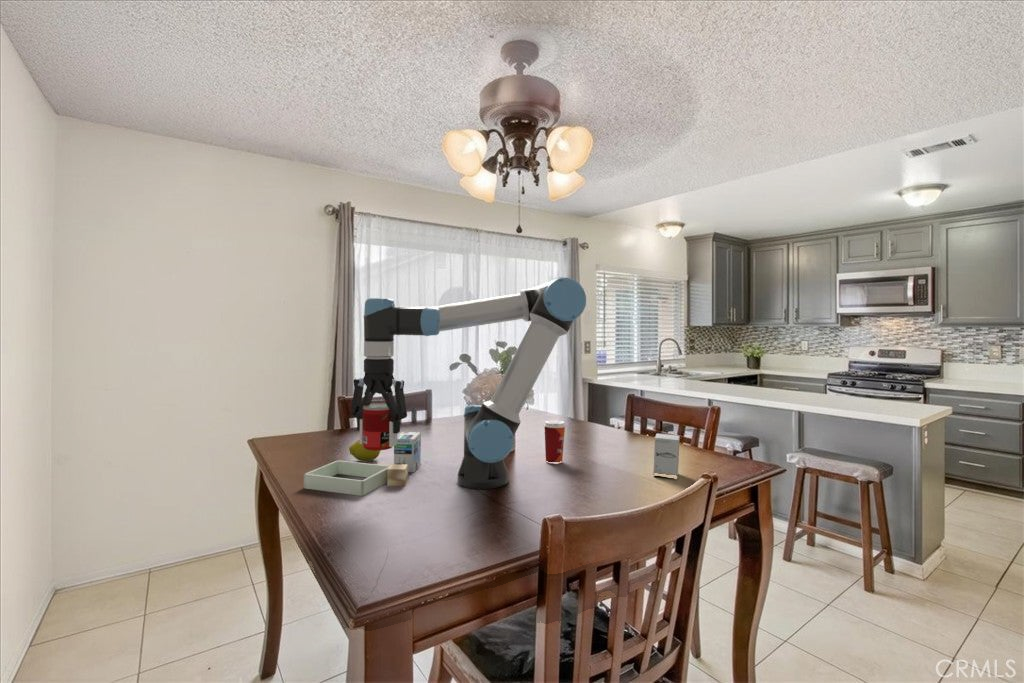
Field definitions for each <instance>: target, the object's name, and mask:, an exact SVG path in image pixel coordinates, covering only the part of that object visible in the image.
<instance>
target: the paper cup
mask: <svg viewBox="0 0 1024 683" xmlns="http://www.w3.org/2000/svg"><path fill="white" fill-rule="evenodd" d="M543 427H544V446H545V447H544V449H545V462H546V461H548V462H560V461H562V462H563V458H564V457H563V456H564V455H563V454H564V444H565V432H566V423H565V421H563V420H557V419H554V420H553V419H550V420H545V421H544V424H543Z"/></svg>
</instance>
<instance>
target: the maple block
mask: <svg viewBox="0 0 1024 683" xmlns="http://www.w3.org/2000/svg"><path fill="white" fill-rule="evenodd" d="M388 466H389V468H388V473H387V483H386V484H387V487H406V484H407V483H408V481H409V480H408V479H409V478H408V477H409V474H408V473H409V472H408V464H394V463H390V465H388Z"/></svg>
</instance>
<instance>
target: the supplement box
mask: <svg viewBox="0 0 1024 683" xmlns="http://www.w3.org/2000/svg"><path fill="white" fill-rule="evenodd" d="M680 440H681V435H675V434H668V433H667V434H666V433H656V434H655V437H654V451H653V452H654V453H653V474H654V473H658V474H666V475H676V476H677V475H678V476H679V465H680V464H679V463H680Z"/></svg>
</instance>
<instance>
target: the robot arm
mask: <svg viewBox="0 0 1024 683" xmlns="http://www.w3.org/2000/svg"><path fill="white" fill-rule="evenodd" d="M586 306H587V296H586V292H585V290H584V288H583V286H582V285H581V284H580V283H579V282H578V281H577V280H576V279H573V278H570V277H564V276H563V277H560V276H559V277H555V278H553V279H552V280H550V281H547V282H544V283H543V284H540V285H537V286H534V287H532V288H526V289H521V290H520V291H519V293H517V294H509V295H503V296H502V295H500V296H495V297H488V298H484V299H483V298H482V299H475V300H469V301H462V302H455V303H447V304H443V305H436V306H398V305H397V306H395V301H394V299H392V298H380V297H379V298H378V297H376V298H375V297H373V298H372V297H371V298H370V297H369V298H367V299H366V300H365V302H364V312H363V313H364V314H363V356H364V357H366V358H364V360H363V372H364V376H363V377H362V378H361V377H360V378H355V379H353V394H352V401H351V406H350V407H351V408H350V416H352V417H355V418H356V419H357V421H356V426H357V431H358V432H359V440H360V444H363V406H364V405H365V406H366V405H370V404H372V400H373V398H374V396H375V395H376V394H379V395H381V397H382V398H383V399H384V402H385V403H386V404H387V407H389V412H390V415H391V418H392V420H391V421H390V422H389V447H392V448H394V446H395V445H397V436H398V434H400V433H401V431H400V430H401V420H403V419H405V418H407V417H408V412H407V405H406V398H405V391H404V388H405V381H404V380H403V379H400V380H398V379H396V378H394V367H395V366H394V365H395V363H394V362H395V360H394V359H393V358H392V357H394V354H395V353H394V350H395V349H394V347H395V346H394V344H395V342H394V339H395V336H424V337H430V336H437V335H439V334H440V333H441V332H445V331H451V330H458V329H459V330H460V329H463V328H465V329H466V328H471V327H479V326H486V325H492V324H499V323H503V322H504V323H505V322H511V321H519V320H523V321H524V322H530V324H529V326H528V329H527V330H526V332H525V333H524V336H523V338H522V340H521V342H520V344H519V345H518V347H517V349H516V351H515V353H514V355H513V357H512V359H511V360H510V362H509V364H508V366H507V368H506V370H505V372H504V374H503V376H502V378H501V379H500V381H499V383H498V385H497V388H496V389H495V391H494V392H493V395H492V396H491V399H489V400H486V401H483V402H482V404H475V405H474V404H471V405H470V404H469V405H467V406H465V408H464V411H463V412H464V413H463V418H464V420H463V421H464V422H463V426H464V427H463V457H462V460H461V463H460V467H459V469H458V471H457V483H458V484H459V485H460V486H462V487H464V488H468V489H475V490H487V489H489V490H490V489H497V488H501V487H503V485H504V486H506V485H507V484H508V482H509V473H508V470H507V466H506V463H505V458H507V457H508V456H509V454H510V453H511V452H512V450H513V446H514V441H515V439H514V438H515V437H514V436H515V434H516V433H517V430H518V429H519V426H520V425H521V423H522V422H521V419H520V418H521V417H520V413H521V411H522V409H523V407H524V405H525V403H526V401H527V399H528V397H529V395H530V393H531V392H532V389H533V387H534V386H535V383H536V382H537V381H538V378H539V376H540V374H541V372H542V370H543V368H544V366H545V365H546V362H547V361H548V359H549V357H550V355H551V353H552V351H553V349H554V348H555V345H556V344H557V342H558V340H559V338H560V337H561V336H565V335H567V334H568V332H569V331H570V329H571V326H572V325H573V324H574V322H575V320H577V319H578V318H579V317H580V316H581V315H582V314H583V313H584V311H585V309H586ZM364 386H366V388H365V391H364ZM392 386H393V389H394V392H393V389H392Z"/></svg>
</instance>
